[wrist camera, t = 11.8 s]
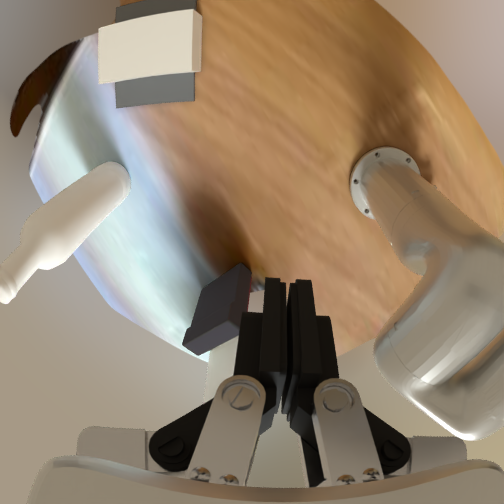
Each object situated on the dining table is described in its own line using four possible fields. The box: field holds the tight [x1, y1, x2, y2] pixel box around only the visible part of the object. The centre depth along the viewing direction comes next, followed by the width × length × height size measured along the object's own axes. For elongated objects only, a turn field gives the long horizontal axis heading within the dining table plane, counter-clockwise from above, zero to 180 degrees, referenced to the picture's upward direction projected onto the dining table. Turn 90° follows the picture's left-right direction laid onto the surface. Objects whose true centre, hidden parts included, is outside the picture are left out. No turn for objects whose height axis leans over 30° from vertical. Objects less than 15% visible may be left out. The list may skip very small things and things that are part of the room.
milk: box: [203, 336, 239, 404], centre depth 58 cm, size 12×12×26 cm
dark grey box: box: [182, 263, 252, 356], centre depth 50 cm, size 11×4×15 cm, turn 132°
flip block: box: [98, 9, 202, 84], centre depth 31 cm, size 5×9×14 cm
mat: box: [115, 0, 197, 108], centre depth 33 cm, size 13×18×1 cm
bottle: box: [0, 161, 131, 304], centre depth 33 cm, size 8×8×30 cm
